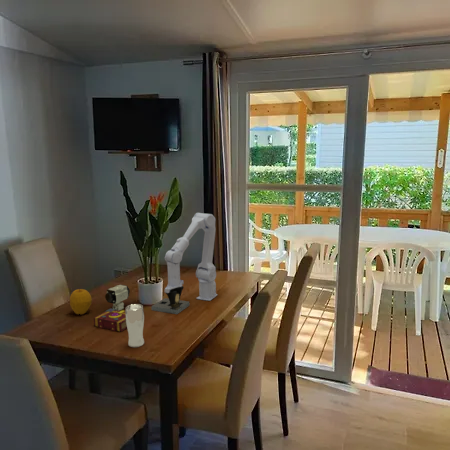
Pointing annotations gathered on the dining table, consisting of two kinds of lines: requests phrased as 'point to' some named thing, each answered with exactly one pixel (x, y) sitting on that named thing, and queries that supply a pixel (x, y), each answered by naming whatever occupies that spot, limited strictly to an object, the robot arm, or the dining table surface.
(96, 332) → the dining table surface
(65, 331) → the dining table surface
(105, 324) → the decorative book
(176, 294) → the brass fitting
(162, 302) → the grey plate with cutouts
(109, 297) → the white security camera
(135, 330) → the beer glass
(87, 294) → the apple
